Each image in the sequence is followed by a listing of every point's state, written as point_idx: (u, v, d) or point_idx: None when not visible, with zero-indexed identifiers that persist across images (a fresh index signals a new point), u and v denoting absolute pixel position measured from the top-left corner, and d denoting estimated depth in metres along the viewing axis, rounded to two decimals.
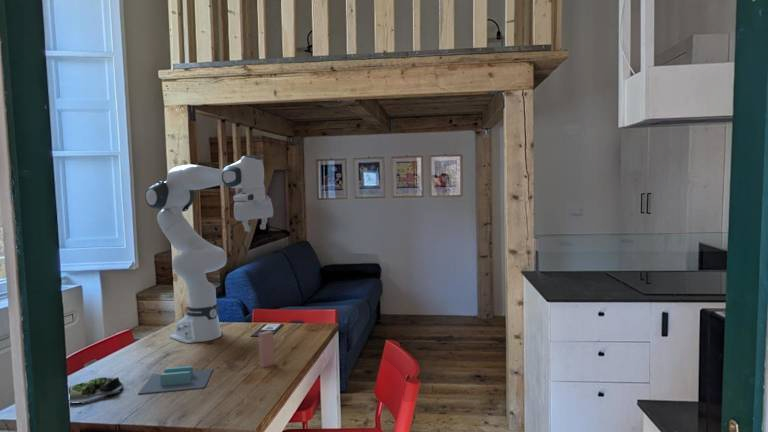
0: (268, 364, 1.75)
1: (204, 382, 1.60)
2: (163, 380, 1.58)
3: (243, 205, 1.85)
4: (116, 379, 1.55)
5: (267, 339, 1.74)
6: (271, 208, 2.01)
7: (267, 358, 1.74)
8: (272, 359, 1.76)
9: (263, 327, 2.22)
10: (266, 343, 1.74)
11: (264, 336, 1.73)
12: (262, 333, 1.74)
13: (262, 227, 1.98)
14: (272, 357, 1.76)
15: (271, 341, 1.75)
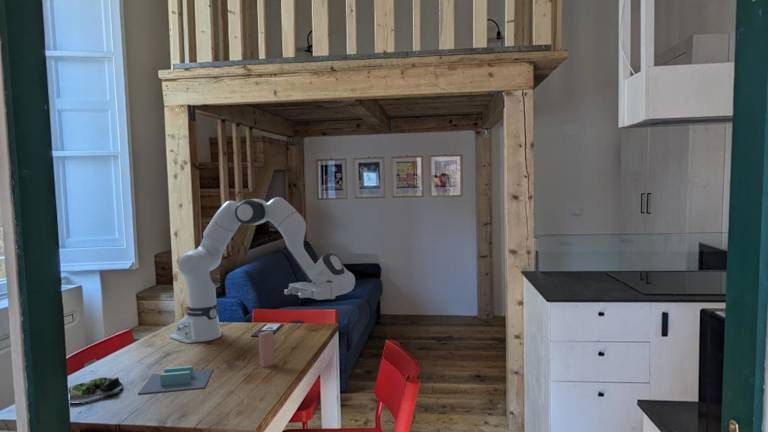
0: (268, 364, 1.75)
1: (204, 382, 1.60)
2: (163, 380, 1.58)
3: (329, 298, 1.84)
4: (116, 379, 1.55)
5: (267, 339, 1.74)
6: None
7: (267, 358, 1.74)
8: (272, 359, 1.76)
9: (263, 327, 2.22)
10: (266, 343, 1.74)
11: (265, 336, 1.73)
12: (262, 333, 1.74)
13: (288, 293, 1.86)
14: (272, 357, 1.76)
15: (271, 341, 1.75)
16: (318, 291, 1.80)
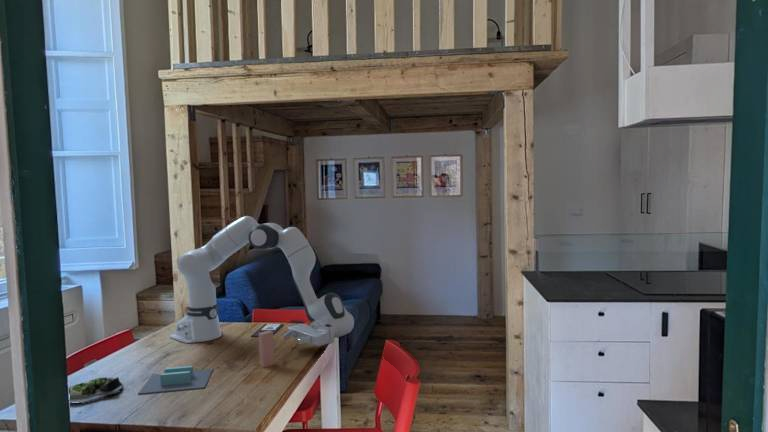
0: (268, 364, 1.75)
1: (204, 382, 1.60)
2: (163, 380, 1.58)
3: (327, 343, 1.84)
4: (116, 379, 1.55)
5: (267, 339, 1.74)
6: None
7: (267, 358, 1.74)
8: (272, 359, 1.76)
9: (263, 327, 2.22)
10: (266, 343, 1.74)
11: (264, 336, 1.73)
12: (262, 333, 1.74)
13: (286, 337, 1.86)
14: (272, 357, 1.76)
15: (271, 341, 1.75)
16: (317, 337, 1.80)
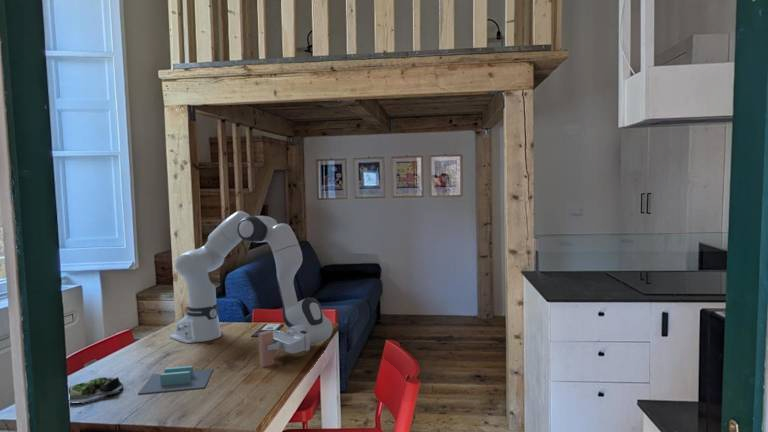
0: (268, 364, 1.75)
1: (204, 382, 1.60)
2: (163, 380, 1.58)
3: (302, 350, 1.76)
4: (116, 379, 1.55)
5: (267, 339, 1.74)
6: None
7: (267, 358, 1.74)
8: (272, 359, 1.76)
9: (263, 327, 2.22)
10: (266, 343, 1.74)
11: (264, 336, 1.73)
12: (262, 333, 1.74)
13: None
14: (272, 357, 1.76)
15: (271, 341, 1.75)
16: (290, 345, 1.71)
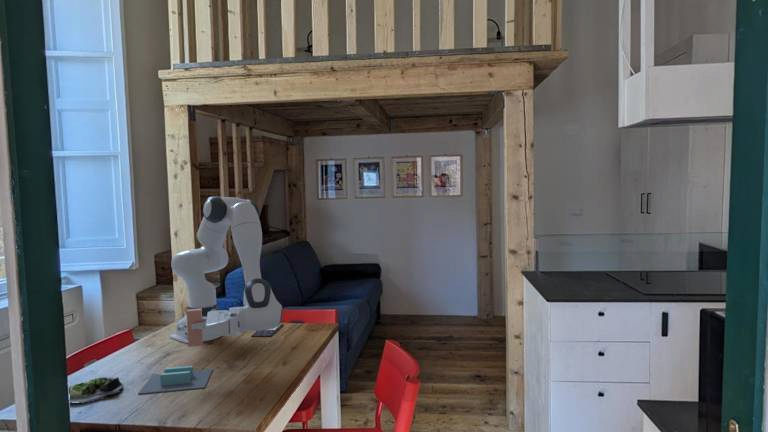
0: (195, 344, 1.62)
1: (204, 382, 1.60)
2: (163, 380, 1.58)
3: (224, 335, 1.57)
4: (116, 379, 1.55)
5: (193, 317, 1.61)
6: None
7: (193, 337, 1.61)
8: (200, 339, 1.62)
9: None
10: (192, 321, 1.61)
11: (190, 313, 1.61)
12: (189, 310, 1.62)
13: None
14: (200, 337, 1.62)
15: (199, 320, 1.62)
16: (206, 326, 1.55)
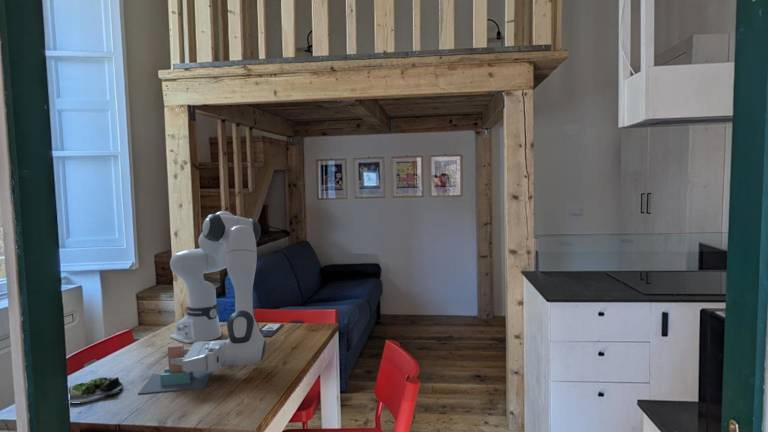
0: None
1: (204, 382, 1.60)
2: (163, 380, 1.58)
3: None
4: (116, 379, 1.55)
5: (174, 353, 1.60)
6: None
7: None
8: None
9: (263, 327, 2.22)
10: (173, 357, 1.60)
11: (171, 349, 1.60)
12: (171, 345, 1.61)
13: None
14: None
15: (180, 356, 1.61)
16: (183, 362, 1.53)
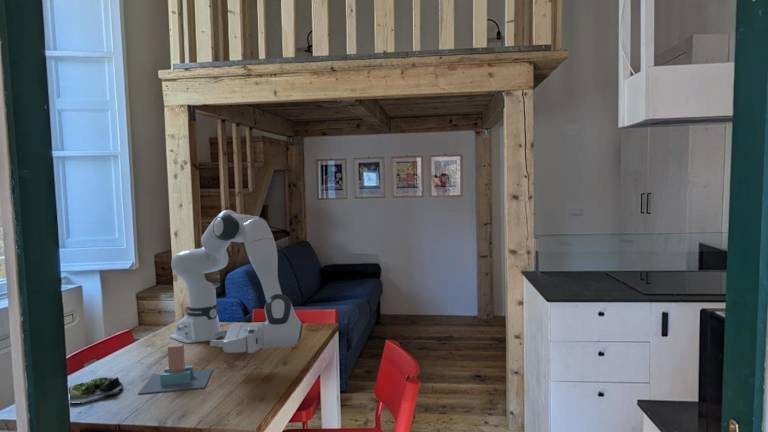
0: None
1: (204, 382, 1.60)
2: (163, 380, 1.58)
3: (241, 351, 1.57)
4: (116, 379, 1.55)
5: (174, 353, 1.60)
6: None
7: None
8: None
9: None
10: (173, 357, 1.60)
11: (171, 349, 1.60)
12: (171, 345, 1.61)
13: (216, 335, 1.68)
14: None
15: (180, 356, 1.61)
16: (224, 342, 1.55)
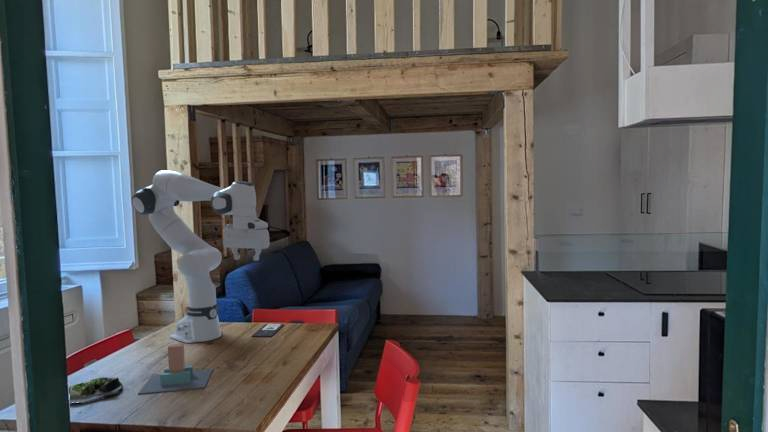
0: None
1: (204, 382, 1.60)
2: (163, 380, 1.58)
3: None
4: (115, 379, 1.55)
5: (174, 353, 1.60)
6: None
7: None
8: None
9: (264, 327, 2.22)
10: (173, 357, 1.60)
11: (171, 349, 1.60)
12: (171, 345, 1.61)
13: (239, 257, 1.87)
14: None
15: (180, 356, 1.61)
16: (263, 247, 1.79)
